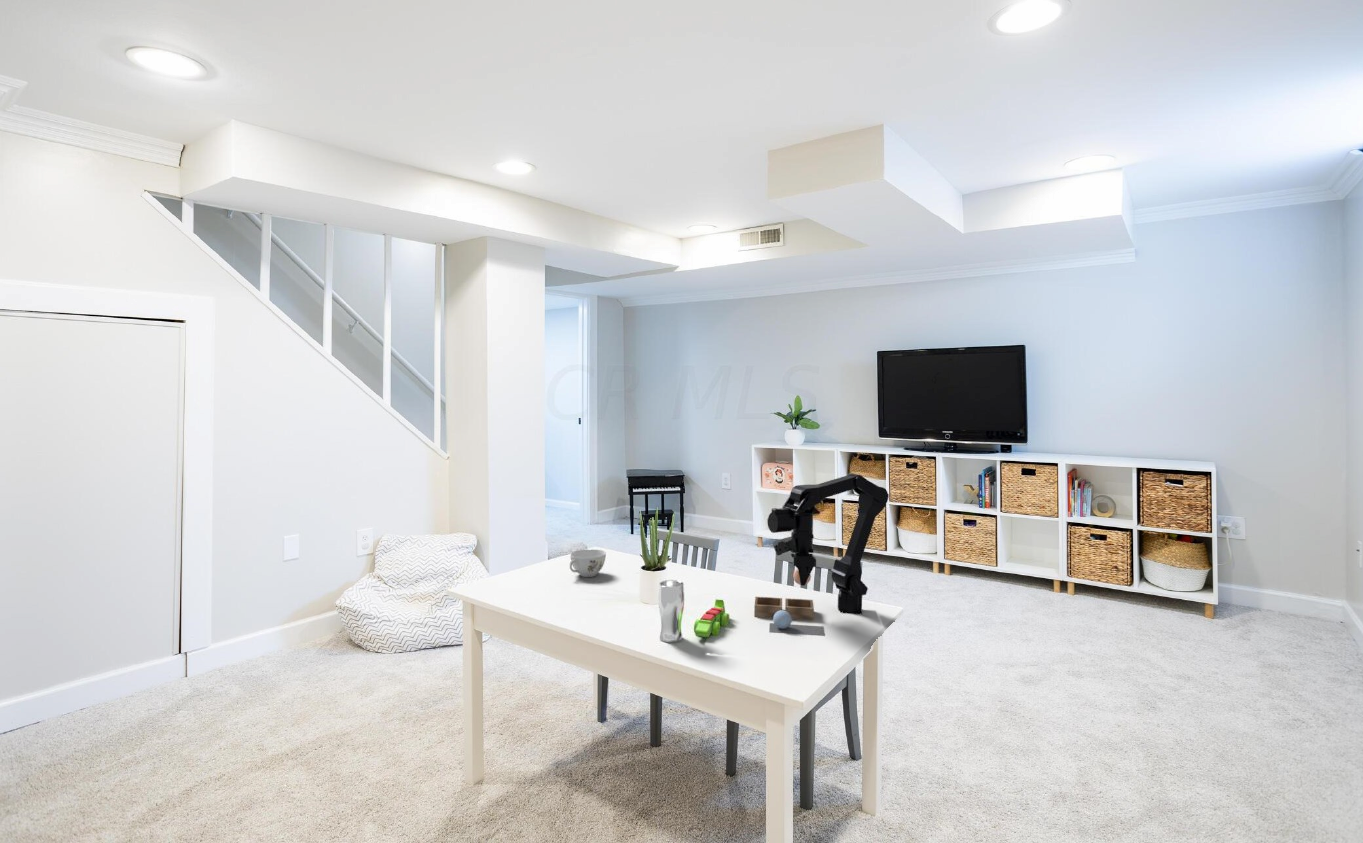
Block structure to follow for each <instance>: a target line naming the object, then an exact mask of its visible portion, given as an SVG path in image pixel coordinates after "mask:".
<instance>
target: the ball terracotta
mask: <svg viewBox="0 0 1363 843" xmlns="http://www.w3.org/2000/svg"><path fill="white" fill-rule="evenodd" d="M792 578H793V579H794V580H793V581H795V583H796V584H797V585H799V586H802V585H801V583H800V577H799V571H798V568H797V569H795V570H794V572H793V576H792ZM811 578H812V576H811V573H810V575H809V577H808V580H807V582H806V584H805V586H806V585H807V584H809V583H810V581H811Z"/></svg>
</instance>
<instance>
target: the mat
mask: <svg viewBox="0 0 1363 843" xmlns="http://www.w3.org/2000/svg"><path fill="white" fill-rule="evenodd" d="M768 629H769V631H768V632H769V633H771V634H772V633H774V634H791V635H803V636H804V635H805V636H807V635H808V636H818V637H819V636H821V637H825V636H826V633H825V627H824V626H822V625H807V624H806V625H805V624H792V623H791V624H790V626H789V627H788V628H786V629H780V628H778V627H777V626H776V625H775V624H774V622H769V628H768Z"/></svg>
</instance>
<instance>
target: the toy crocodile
mask: <svg viewBox="0 0 1363 843" xmlns="http://www.w3.org/2000/svg"><path fill="white" fill-rule="evenodd" d="M729 623H730V614H729V613H728V612H727V613H726V607H725V602H724V599H716V598H715V602H714V606H713V607H711V608H710V609H708V610H706V611H705V613H704V614H702V616H701V618H698V619H695V621H694V624H693V631H694V632H693V633H694V634H695V636H696V637H704V638H709V637H710V635H713V636H714V635H715V636H718V635H719V634H720V630H721V626H722V627H727V625H729Z"/></svg>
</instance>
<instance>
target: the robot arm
mask: <svg viewBox="0 0 1363 843" xmlns="http://www.w3.org/2000/svg"><path fill="white" fill-rule="evenodd" d="M791 488H792V489H791V491H790V493H789V495H788V497H787V498H786V499H785V502H784V503H783V505H782V507H781V508H776V507H774V508H771V512H770V513H769V514H768V518H767V527H768V529H769V531H770V532H771V533H772V534H774V533H775V534H776V533H784V532H791V533H790V535H791V536H787V537H784V538H780V539H778V540H775V541H773V542H772V546H773V549H774V551H775V554H776V556H781V555H783V554H785V553H788V552H790V556H791V557H792V565H793V567H795V568H797V569H798V571H799V577H800V583H801V585H800V586H802V587H803V586H806V585H807V584H806V582H807V580H808V577H809V575H810V574H811V573H812V571H813V569H814V568H815V567H817V558H816V556H815V555H814V548H813V547H814V546H813V545H814V543H813V542H814V538H815V536H814V515H819V514H820V513H821V511H820V510H819V509H817V508H816V505H819V504H821V502H823V500H825V499H826V498H830V497H833V496H836V495H839V494H842V493H846V492H850V491H853V492H855V493H856V494H857V495H858V500H857V502H858V503H857V504H858V508H859V509H858V510H859V512H858V515H857V518H856V520H855V524H854V526H853V530H852V532H851V536H850V539H849V541H848V544H847V548H846V551H845V554H844V556H842V557H841V558H840V559H838V558H836V559H835V560H834V563H833V566H832V568H831V570H830V572H831V579H832V581H833V583H834V584H835V585H834V586H835V587H836V589H837V590H839V594H837V609H838V611H839V612H840V614H849V615H851V614H852V615H863V610H862V609H863V596H866V595H867V593H868V590H869V588H868V587H867V585H866V584H865V583H864V582H863V580H862V574H863V570H862V563H861V562H862V558H863V556H864V553H865V550H866V547H867V544H868V540H869V538H870V535H871V531H872V529H873V526H874V524H875V520H876V517H877V516H878V515H879V514H880V513H881V512H883V511H884V509H885V507H886V505H887V503H888V501H889V497H890V494H889V492H888V490H887V489H886V488H885V487H884V486H878V485H877V484H876V483H874V482H872V481H870V480H869V479H867V478H865V477H863V475H860V474H857V473H849V474H847V475H844V476H840V477H838V478H834V479H830V480H827V481H823V482H821V483H817V484H800V485H799V484H798V485H795V486H793V487H791ZM805 584H806V585H805Z"/></svg>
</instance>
